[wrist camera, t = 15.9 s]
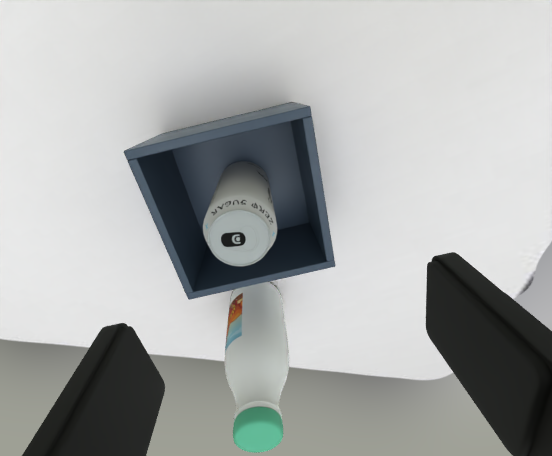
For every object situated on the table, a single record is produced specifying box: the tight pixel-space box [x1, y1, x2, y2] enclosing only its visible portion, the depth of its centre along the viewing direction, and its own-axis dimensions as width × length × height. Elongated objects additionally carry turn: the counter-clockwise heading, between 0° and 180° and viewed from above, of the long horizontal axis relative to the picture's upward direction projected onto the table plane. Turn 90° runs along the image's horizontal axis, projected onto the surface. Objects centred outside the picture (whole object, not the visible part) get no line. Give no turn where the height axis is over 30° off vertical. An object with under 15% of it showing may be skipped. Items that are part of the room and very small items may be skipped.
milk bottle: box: [225, 282, 289, 452], centre depth 36 cm, size 8×8×20 cm
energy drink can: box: [203, 161, 277, 266], centre depth 29 cm, size 6×6×15 cm
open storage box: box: [124, 102, 335, 299], centre depth 32 cm, size 16×16×11 cm
